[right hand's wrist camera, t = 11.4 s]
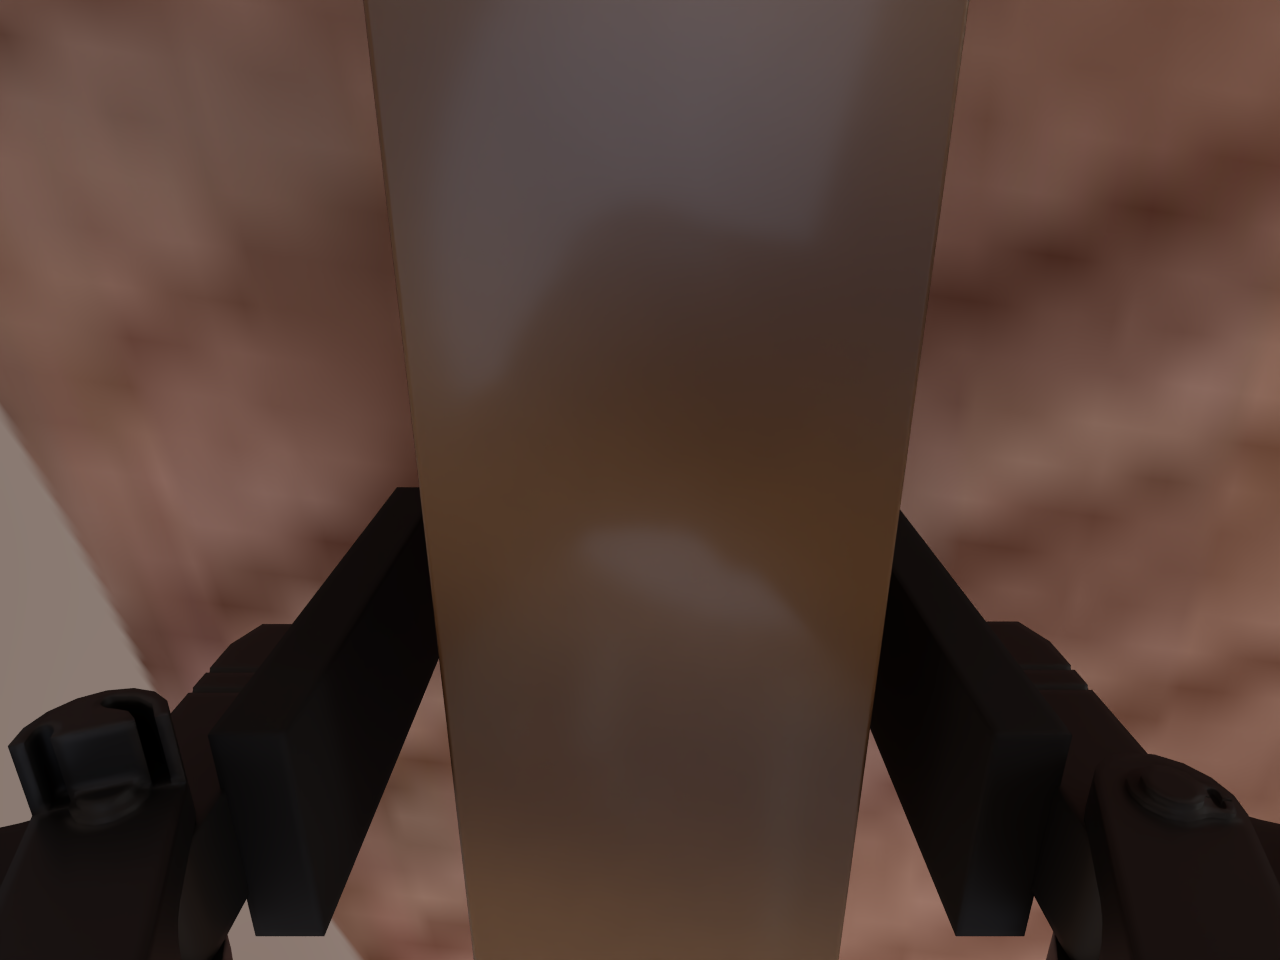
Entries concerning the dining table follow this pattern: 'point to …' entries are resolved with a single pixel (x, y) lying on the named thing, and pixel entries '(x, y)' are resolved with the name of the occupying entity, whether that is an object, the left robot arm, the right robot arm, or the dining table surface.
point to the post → (661, 440)
